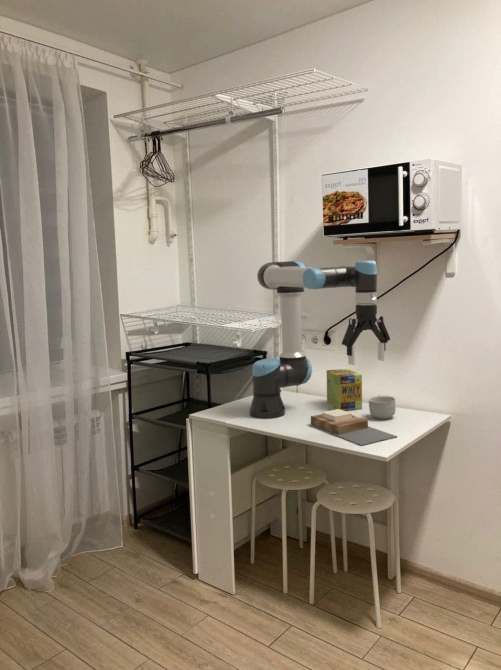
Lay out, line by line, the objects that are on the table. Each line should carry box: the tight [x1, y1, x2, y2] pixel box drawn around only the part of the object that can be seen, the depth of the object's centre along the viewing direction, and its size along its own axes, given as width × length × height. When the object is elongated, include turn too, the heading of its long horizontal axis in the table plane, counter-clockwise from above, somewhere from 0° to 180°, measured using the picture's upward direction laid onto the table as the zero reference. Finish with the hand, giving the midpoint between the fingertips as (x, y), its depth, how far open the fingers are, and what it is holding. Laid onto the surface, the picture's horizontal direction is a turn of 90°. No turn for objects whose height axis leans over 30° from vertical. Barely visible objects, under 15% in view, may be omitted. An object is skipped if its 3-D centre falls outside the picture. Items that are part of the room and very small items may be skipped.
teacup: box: [367, 394, 396, 420], centre depth 239 cm, size 14×11×8 cm
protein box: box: [326, 368, 363, 412], centre depth 256 cm, size 10×15×16 cm
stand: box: [310, 413, 369, 434], centre depth 226 cm, size 18×14×3 cm
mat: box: [310, 424, 398, 447], centre depth 220 cm, size 30×17×1 cm, turn 30°
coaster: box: [322, 408, 353, 422], centre depth 227 cm, size 8×8×2 cm
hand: (366, 362), depth 210 cm, fingers open, 13 cm apart
